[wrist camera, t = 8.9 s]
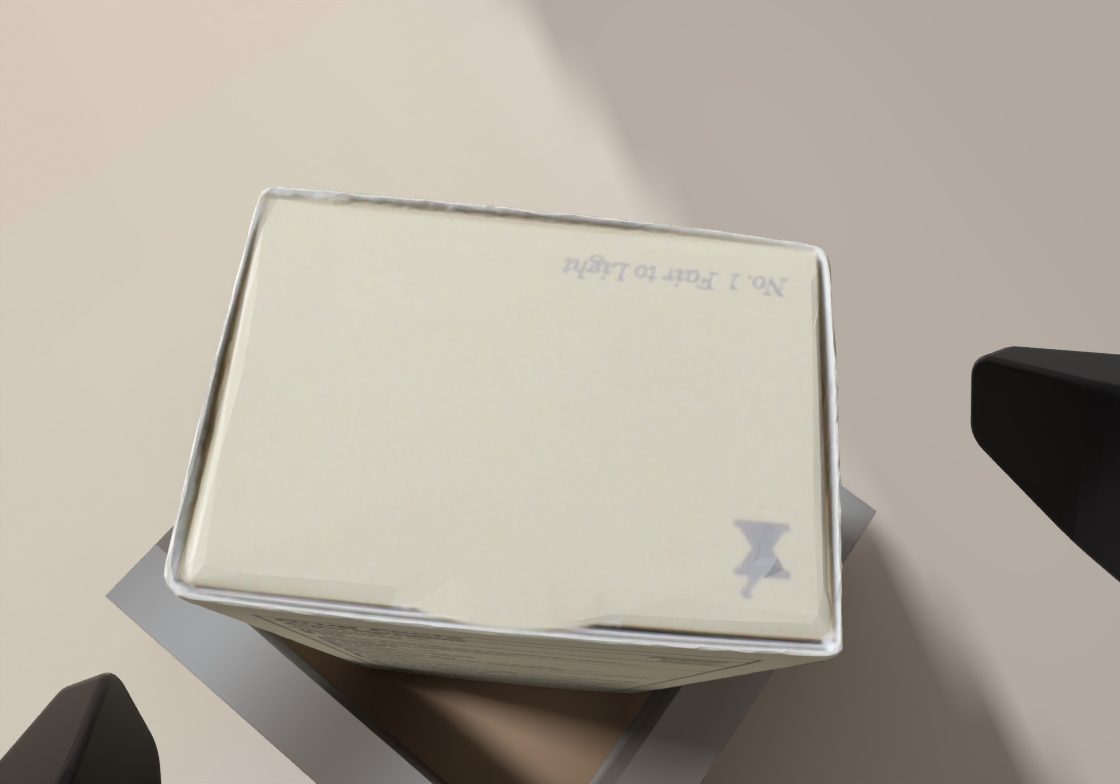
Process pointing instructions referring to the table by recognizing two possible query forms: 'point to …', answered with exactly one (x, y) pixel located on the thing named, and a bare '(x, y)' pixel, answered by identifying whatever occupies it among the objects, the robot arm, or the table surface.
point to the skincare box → (520, 445)
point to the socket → (443, 704)
